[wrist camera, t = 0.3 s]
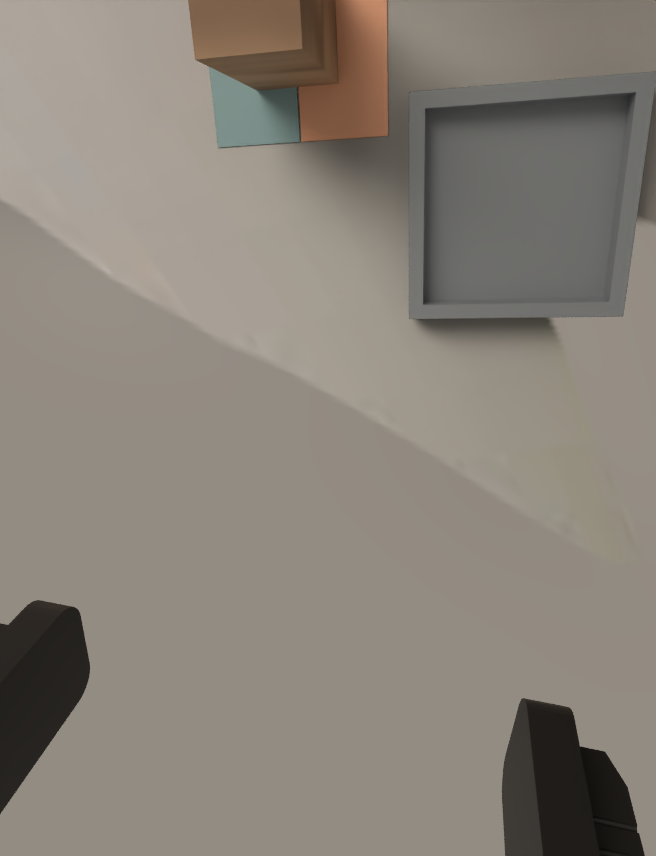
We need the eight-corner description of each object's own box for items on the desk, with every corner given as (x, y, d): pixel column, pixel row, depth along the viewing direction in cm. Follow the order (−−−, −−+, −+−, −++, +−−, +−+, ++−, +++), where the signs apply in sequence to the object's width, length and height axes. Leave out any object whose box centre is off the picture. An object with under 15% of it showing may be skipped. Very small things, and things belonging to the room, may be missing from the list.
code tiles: (196, -64, 31) (194, -66, 31) (386, -91, 29) (386, -93, 29) (219, 147, 34) (217, 147, 34) (388, 135, 33) (388, 135, 32)
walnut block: (249, -9, 31) (179, -78, 23) (335, -19, 30) (294, -95, 22) (257, 90, 33) (195, 59, 25) (338, 83, 32) (302, 48, 24)
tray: (411, 96, 32) (409, 91, 30) (645, 77, 29) (656, 71, 28) (410, 312, 36) (409, 319, 34) (614, 309, 34) (623, 316, 32)
